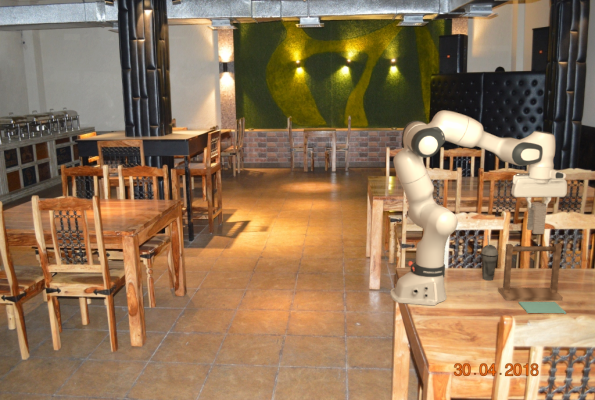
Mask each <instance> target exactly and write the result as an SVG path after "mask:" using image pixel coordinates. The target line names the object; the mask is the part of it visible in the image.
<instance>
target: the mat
mask: <svg viewBox="0 0 595 400" xmlns="http://www.w3.org/2000/svg"><path fill="white" fill-rule="evenodd" d="M518 304H519V305H520V307H521V308H522V309H523V310H524V309H525V310H526V311H525V310H524V311H525V312H526V313H527V314H528V313H564V314H563V315H566V314H567V311H565V310H564V309H563V308H562V307H561V306H560V305H559V304H558V303H557V301H518Z"/></svg>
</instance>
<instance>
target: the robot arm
mask: <svg viewBox="0 0 595 400" xmlns="http://www.w3.org/2000/svg"><path fill="white" fill-rule="evenodd" d="M446 142H449V143H452V144H455V145H458V146H461V147H465V148H471V149H472V148H474V147H479V148H481V149H484V150H486V151H489V152H491V153H492V154H494V155H495V157H496V158H497V159H498V160H499V161H502V162H503V163H508V164H512V165H515V166H518V167H524V166H525V167H526V166H528V169H527V173H525V172H523V173H521V172H517V173H516V174H515V175H513V176H512V186H511V195H512V196H513V197H514V198H525V201H526V203H527V208H528V209H529V208H533V204H532V203H531V200H532V198H544V199H545V200H544V202H541V204H543V205H545V206H547V207H546V209H547V208H548V204H549V203H550V202H551V200H552V198H564V197H566V196H567V194H568V193H567V192H568V182H567V180H566V178H567V173H565V172H564V171H562V170H561V171H560V170H558V169H556V168H554V166H555V164H554V157H555V154H556V137H555V135H554V133H551V132H548V131H541V130H534V131H533V132H532V133H531V134H529V135H528V136H526V137H524V138H520V139H518V138H514V137H511V136H505V137H503V136H502V137H500V136H496V135H494V134H491V133H489V132H487V131H485V130H484V126H483V124H482V123H481V122H479V121H478V120H476V119H475V118H472V117H471V116H468V115H465V114H462V113H458V112H456V111H452V110H446V109H445V110H440V111H438V112H437V113H435V115H434V116H433V118H432V119H431V121H430V122H429V123H426V122H424V121H421V120H412V121H410V122H408V123H407V124H405V126H404V127H403V130H402V136H401V148H403V149H401V150H399V151H398V152H397V153H396V154H394V156H393V160H392V161H393V166H394V170H395V173H396V176H397V178H398V180H399V183H400V185H401V187H402V190H403V192H404V194H405V196H406V199H407V203H408V209H407V217H408V218H409V220H410V221H412V223H413V224H415V225H416V226H418V227H420V228H421V229H423V234H422V238H421V239H420V240H419V241H418V242H417V243H416V248H415V249H416V250H415V251H416V255H415V262H413V261H412V260H409V261H408V263H407V264H408V266H409V268H410V270H409V271H408V272H406V273H405V274H403V275H402V276H400V277H399V278H398V279H397V282H396V286H395V287H392V288H391V290H390V292H389V294H390V298H391V299H392V300H393V301H394V302H396V303H398V304H411V305H423V306H436V305H438V304H439V303H441V302H444V301H446V300H447V298H448V297H447V294H446V288H445V275H446V265H445V252H446V245H447V242H448V239H449V236H451V235H452V234H453V233H454V232H455V231H456V229H457V228H458V225H459V224H458V223H459V222H458V217H457V216H456V214H455V213H454V212H453V211H452V210H450V209H449V208H446V207H445V206H442V205H440V204H438V203H437V202H436V201H435V200H434V196H433V193H434V191H435V186H434V183H433V181H432V179H431V177H430V175H429V172H428V170H427V168H426V166H425V163H424V158H426V159H427V158H431V157H433V156H435V155H436V154H437V153H438V152H439V150H440V148H441V147H442V146H443V145H444V144H445V143H446Z"/></svg>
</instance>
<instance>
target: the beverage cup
mask: <svg viewBox="0 0 595 400" xmlns="http://www.w3.org/2000/svg"><path fill="white" fill-rule="evenodd" d="M489 239H490V238H489V235H488V234H487V244H486V245H484V246H483V247H482V248H481V252H480V257H481V272H482V273H481V274H482V277H481V278H482V280H484V281H493V280H494V277H495V273H496V266H497V260H498V257H499V251H498V248H497V247H495V245H492V244H490V240H489Z"/></svg>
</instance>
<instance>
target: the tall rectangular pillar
mask: <svg viewBox="0 0 595 400" xmlns="http://www.w3.org/2000/svg"><path fill="white" fill-rule="evenodd" d="M530 202H531V201H530ZM531 203H532V204H533V208H528V209H527V210H528V212H527V223H526V230H527V231H531V232H532V234H533V235H545V226H546V216H547V215H546V214H547V208H548V205H547V206H545V205H543V204H542V202H539V201H537V202H536V201H535V202H533V201H532V202H531ZM546 207H547V208H546Z"/></svg>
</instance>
